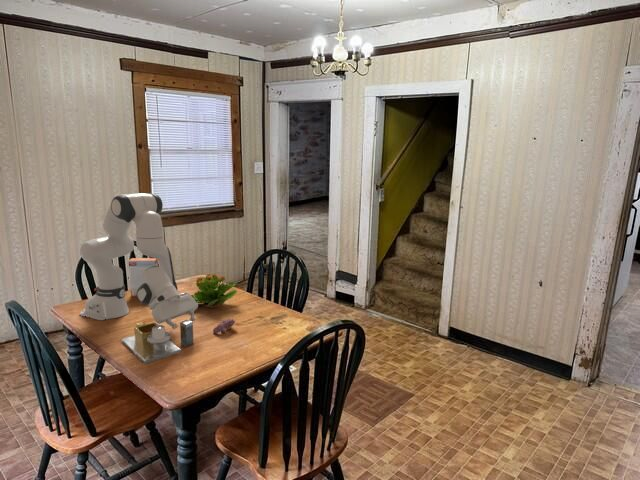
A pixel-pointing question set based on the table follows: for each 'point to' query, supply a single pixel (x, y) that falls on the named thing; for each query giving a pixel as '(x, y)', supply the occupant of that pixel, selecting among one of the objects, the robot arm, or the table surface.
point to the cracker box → (139, 272)
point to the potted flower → (213, 291)
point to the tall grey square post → (186, 332)
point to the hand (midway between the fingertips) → (184, 324)
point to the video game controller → (224, 325)
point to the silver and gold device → (150, 342)
